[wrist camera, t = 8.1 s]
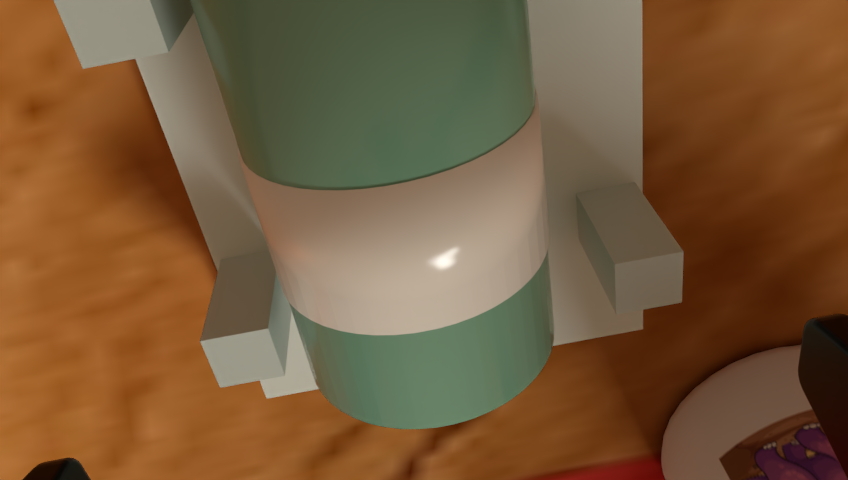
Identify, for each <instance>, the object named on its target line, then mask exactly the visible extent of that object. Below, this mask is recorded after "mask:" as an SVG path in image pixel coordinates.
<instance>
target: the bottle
mask: <svg viewBox="0 0 848 480" xmlns="http://www.w3.org/2000/svg"><path fill="white" fill-rule="evenodd" d="M190 2H191V5H192V8H193V11H194V14H195V17H196V20H197V23H198V26H199V29H200V32H201V35H202V39H203V42H204V45H205V48H206V51H207V54H208V57H209V60H210V63H211V66H212V69H213V72H214V75H215V78H216V81H217V84H218V87H219V91H220V94H221V97H222V100H223V103H224V106H225V109H226V112H227V115H228V118H229V121H230V124H231V127H232V130H233V133H234V136H235V139H236V142H237V146H238V147H237V149H238V158H239V161H240V164H241V167H242V170H243V173H244V176H245V179H246V182H247V185H248V188H249V191H250V194H251V197H252V200H253V203H254V206H255V209H256V212H257V215H258V218H259V221H260V224H261V227H262V230H263V233H264V236H265V239H266V243H267V246H268V249H269V252H270V255H271V258H272V261H273V264H274V267H275V270H276V273H277V276H278V279H279V282H280V285H281V288H282V290H283V293H284V295H285V297H286V298H287V300H288V301H289V305H290V308H291V311H292V314H293V317H294V320H295V323H296V326H297V329H298V332H299V335H300V338H301V341H302V344H303V347H304V350H305V353H306V356H307V360H308V363H309V366H310V369H311V372H312V375H313V377H314V380H315V383H316V385H317V387H318V388H319V390H320V391H321V393H322V394H323V395H324V397H325V398H326V399H327V400H328V401H329V402H330V403H331V404H332V405H334V406H335V407H336V408H338V409H339V410H340V411H342V412H344V413H346V414H347V415H349V416H351V417H353V418H356V419H358V420H361V421H363V422H366V423H370V424H374V425H378V426H382V427H389V428H397V429H425V428H437V427H442V426H447V425H453V424H457V423H460V422H464V421H467V420H470V419H473V418H476V417H478V416H481V415H483V414H486V413H488V412H490V411H492V410H494V409H496V408H498V407H500V406H502V405H503V404H505V403H507V402H508V401H510V400H511V399H512V398H514V397H515V396H517V395H518V394H519V393H521V392H522V391H523V390H524V389H525V388H526V387H527V386H528V385H530V384H531V382H532V381H533V380H534V379H535V378H536V377H537V376H538V374H539V373H540V372H541V370H542V368H543V367H544V365H545V364H546V362H547V360H548V358H549V355H550V353H551V350H552V346H553V342H554V318H553V306H552V294H551V282H550V270H549V258H548V246H549V227H548V215H547V202H546V190H545V177H544V165H543V152H542V140H541V127H540V115H539V102H538V96H537V92H536V89H535V87H534V75H533V63H532V51H531V38H530V26H529V14H528V2H527V0H190Z"/></svg>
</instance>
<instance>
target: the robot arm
mask: <svg viewBox="0 0 848 480" xmlns="http://www.w3.org/2000/svg"><path fill="white" fill-rule="evenodd" d="M798 377H799V381H800V384H801V387H802V389H803V392H804V394H805V396H806V398H807V400H808V402H809V403H810V405H811V407H812V409H813V411H814V413H815V415H816V417H817V419H818V421H819V423H820V425H821V427H822V429H823V431H824V433H825V435H826V437H827V439H828V441H829V443H830V445H831V447H832V449H833V451H834V453H835V455H836V457H837V459H838V461H839V463H840V465H841V467H842V469H843V471H844V473H845V475H846V477H847V479H848V315H845V314H833V315H828V316H823V317H817V318H813V319H810V320H808V322H807V323H806V324H805V326H804V330H803V337H802V343H801V350H800V357H799V364H798ZM22 480H91V479H90V478H89V476H88V475H87V473H86V471H85V470H84V468H83V466H82V465H81V464H80V462H79V461H77V460H76V459H74V458H64V459H58V460H53V461H48V462H44V463H41V464H39V465H37V466H36V467H35V468H34V469H33V470H32V471H31V472H30V473H29V474H28V475H26V476H25V477H24V478H23V479H22Z"/></svg>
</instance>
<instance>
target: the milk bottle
mask: <svg viewBox="0 0 848 480" xmlns="http://www.w3.org/2000/svg"><path fill="white" fill-rule="evenodd" d="M800 350H801V345H795V346H788V347H778V348H774V349H771V350H767V351H763V352H759V353H755V354H753V355H750V356H748V357H746V358H743V359H741V360H738V361H736V362H733V363H731V364H730V365H728V366H726V367H725V368H723V369H721V370H719V371H718V372H716V373H714V374H712V375H711V376H710V377H708V378H707V379H706V380H705V381H703V382H702V383H701V384H699V385H698V386H697V387H695V388H694V389H693V390H692V391H691V393H690V394H689V395H688V396H687V397H686V398H685V399H684V400H683V401H682V402H681V403H680V404H679V406H678V407H677V409H676V411H675V412H674V414H673V415H672V416H671V418H670V420H669V422H668V425H667V428H666V430H665V432H664V435H663V444H662V452H661V464H662V470H663V474H664V477H665V479H666V480H848V479H847V477H846V475H845V473H844V471H843V469H842V467H841V465H840V463H839V461H838V459H837V457H836V455H835V453H834V451H833V449H832V447H831V445H830V443H829V441H828V439H827V437H826V435H825V433H824V431H823V429H822V427H821V425H820V423H819V421H818V419H817V417H816V415H815V413H814V411H813V409H812V407H811V405H810V403H809V402H808V400H807V398H806V396H805V394H804V392H803V389H802V387H801V384H800V381H799V377H798V364H799V357H800Z"/></svg>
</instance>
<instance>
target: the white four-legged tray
mask: <svg viewBox="0 0 848 480" xmlns="http://www.w3.org/2000/svg"><path fill="white" fill-rule="evenodd" d="M54 2H55V5H56V7H57V9H58V12H59V14H60V16H61V19H62V21H63V23H64V26H65V28H66V30H67V33H68V35H69V37H70V40H71V42H72V44H73V47H74V49H75V51H76V54H77V56H78V58H79V61H80V63H81V65H82V68H83V69H84V68H90V67H95V66H100V65H105V64H111V63H116V62H121V61H126V60H132V59H135V60H136V62H137V65H138V67H139V70H140V73H141V75H142V78H143V80H144V83H145V86H146V88H147V91H148V93H149V96H150V98H151V101H152V104H153V106H154V109H155V111H156V114H157V117H158V119H159V122H160V124H161V127H162V129H163V132H164V135H165V137H166V140H167V142H168V145H169V148H170V150H171V153H172V155H173V158H174V160H175V163H176V166H177V168H178V171H179V173H180V176H181V179H182V181H183V184H184V186H185V189H186V192H187V194H188V197H189V199H190V202H191V204H192V207H193V210H194V212H195V215H196V217H197V220H198V223H199V225H200V228H201V230H202V233H203V235H204V238H205V241H206V243H207V246H208V248H209V251H210V254H211V256H212V259H213V261H214V264H215V266H216V269H217V272H218V273H217V277H216V281H215V285H214V289H213V293H212V297H211V300H210V304H209V308H208V312H207V316H206V320H205V324H204V328H203V332H202V336H201V340H200V342H201V345H202V347H203V349H204V351H205V354H206V356H207V358H208V361H209V363H210V365H211V368H212V370H213V372H214V375H215V377H216V379H217V382H218V384H219V386H220V388H221V387H227V386H232V385H238V384H243V383H248V382H254V381H259V380H260V383H261V385H262V388H263V391H264V393H265V396H266V398H273V397H278V396H284V395H289V394H294V393H300V392H305V391H311V390H316V389H319V388H318V387H317V385H316V383H315V380H314V377H313V375H312V372H311V369H310V366H309V363H308V360H307V356H306V353H305V350H304V347H303V344H302V341H301V338H300V335H299V332H298V329H297V326H296V323H295V320H294V317H293V314H292V311H291V308H290V305H289V301H288V300H287V298H286V297H285V295H284V293H283V290H282V288H281V285H280V282H279V279H278V276H277V273H276V270H275V267H274V264H273V261H272V258H271V255H270V252H269V249H268V246H267V243H266V239H265V236H264V233H263V230H262V227H261V224H260V221H259V218H258V215H257V212H256V209H255V206H254V203H253V200H252V197H251V194H250V191H249V188H248V185H247V182H246V179H245V176H244V173H243V170H242V167H241V164H240V161H239V158H238V149H237V147H238V146H237V142H236V139H235V136H234V133H233V130H232V127H231V124H230V121H229V118H228V115H227V112H226V109H225V106H224V103H223V100H222V97H221V94H220V91H219V87H218V84H217V81H216V78H215V75H214V72H213V69H212V66H211V63H210V60H209V57H208V54H207V51H206V48H205V45H204V42H203V39H202V35H201V32H200V29H199V26H198V23H197V20H196V17H195V14H194V11H193V8H192V5H191V2H190V0H54ZM527 2H528V14H529V26H530V38H531V51H532V63H533V75H534V87H535V89H536V92H537V96H538V102H539V115H540V127H541V140H542V152H543V165H544V177H545V190H546V202H547V215H548V227H549V246H548V258H549V270H550V282H551V294H552V306H553V318H554V342H553V346H555V345H561V344H566V343H571V342H577V341H582V340H588V339H593V338H599V337H604V336H609V335H615V334H620V333H626V332H631V331H637V330H642V329H643V310H644V309H650V308H655V307H660V306H666V305H671V304H677V303H682V286H683V257H684V251H683V250H682V248H681V247H680V246H679V244H678V243H677V241H676V240H675V238H674V237H673V236H672V234H671V233H670V231H669V230H668V229H667V227H666V226H665V224H664V223H663V221H662V220H661V219H660V217H659V216H658V214H657V213H656V211H655V210H654V209H653V207H652V206H651V204H650V203H649V201H648V200H647V199H646V197H645V196H644V194H643V94H642V0H527Z"/></svg>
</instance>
